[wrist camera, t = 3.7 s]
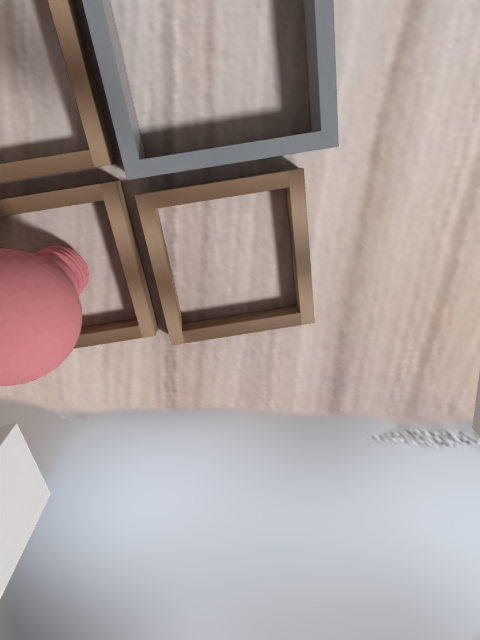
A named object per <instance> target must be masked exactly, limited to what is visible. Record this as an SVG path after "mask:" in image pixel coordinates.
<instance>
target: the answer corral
mask: <svg viewBox="0 0 480 640" xmlns="http://www.w3.org/2000/svg"><path fill="white" fill-rule="evenodd" d="M82 2H83V6H84V10H85V14H86V18H87V22H88V26H89V30H90V34H91V38H92V42H93V46H94V50H95V54H96V58H97V62H98V66H99V70H100V74H101V78H102V82H103V86H104V90H105V94H106V98H107V102H108V106H109V110H110V114H111V118H112V122H113V126H114V130H115V134H116V138H117V142H118V146H119V150H120V154H121V158H122V162H123V166H124V170H125V174H126V178H127V180H131V179H137V178H144V177H150V176H156V175H162V174H169V173H175V172H181V171H188V170H194V169H200V168H206V167H213V166H219V165H225V164H232V163H238V162H244V161H250V160H257V159H263V158H269V157H276V156H282V155H288V154H294V153H301V152H307V151H313V150H320V149H326V148H332V147H339V144H338V116H337V88H336V60H335V32H334V3H333V0H304V16H305V32H306V48H307V65H308V81H309V98H310V114H311V130H312V132H311V133H305V134H299V135H292V136H286V137H280V138H273V139H267V140H261V141H255V142H248V143H242V144H236V145H230V146H223V147H217V148H211V149H204V150H198V151H192V152H186V153H179V154H173V155H167V156H160V157H154V158H148V159H146V156H145V152H144V148H143V143H142V139H141V134H140V130H139V125H138V121H137V117H136V112H135V108H134V103H133V99H132V95H131V90H130V86H129V81H128V77H127V73H126V68H125V64H124V59H123V55H122V51H121V46H120V42H119V37H118V33H117V28H116V24H115V20H114V15H113V11H112V6H111V2H110V0H82Z"/></svg>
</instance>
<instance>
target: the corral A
mask: <svg viewBox="0 0 480 640" xmlns="http://www.w3.org/2000/svg"><path fill="white" fill-rule="evenodd" d="M48 3H49V7H50V10H51V14H52V17H53V21H54V24H55V28H56V32H57V35H58V39H59V42H60V46H61V49H62V53H63V56H64V60H65V64H66V67H67V71H68V74H69V78H70V81H71V85H72V89H73V92H74V96H75V99H76V103H77V106H78V110H79V114H80V117H81V121H82V124H83V128H84V131H85V135H86V139H87V142H88V146H89V149H90V150H85V151H78V152H72V153H66V154H60V155H53V156H47V157H41V158H35V159H28V160H22V161H16V162H9V163H3V164H0V182H6V181H12V180H19V179H25V178H31V177H37V176H44V175H50V174H56V173H62V172H69V171H75V170H81V169H88V168H94V167H100V166H106V165H113V164H116V162H115V158H114V154H113V150H112V146H111V142H110V138H109V134H108V131H107V127H106V123H105V119H104V115H103V111H102V107H101V103H100V99H99V96H98V92H97V88H96V84H95V80H94V76H93V72H92V68H91V65H90V61H89V57H88V53H87V49H86V45H85V41H84V37H83V34H82V30H81V26H80V22H79V18H78V14H77V10H76V6H75V3H74V0H48Z"/></svg>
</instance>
